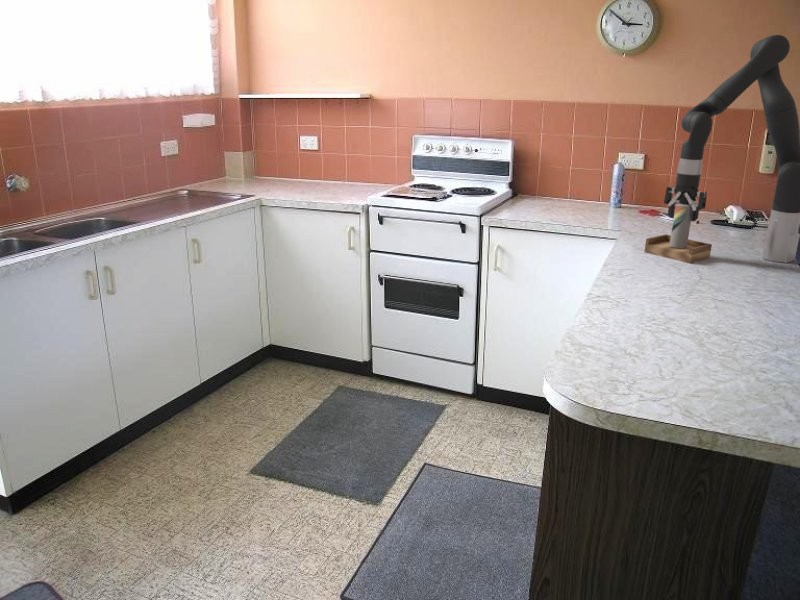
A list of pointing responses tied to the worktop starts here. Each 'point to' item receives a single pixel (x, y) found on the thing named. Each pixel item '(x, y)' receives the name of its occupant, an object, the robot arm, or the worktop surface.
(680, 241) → the lotion bottle
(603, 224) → the worktop surface
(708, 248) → the wooden serving tray
